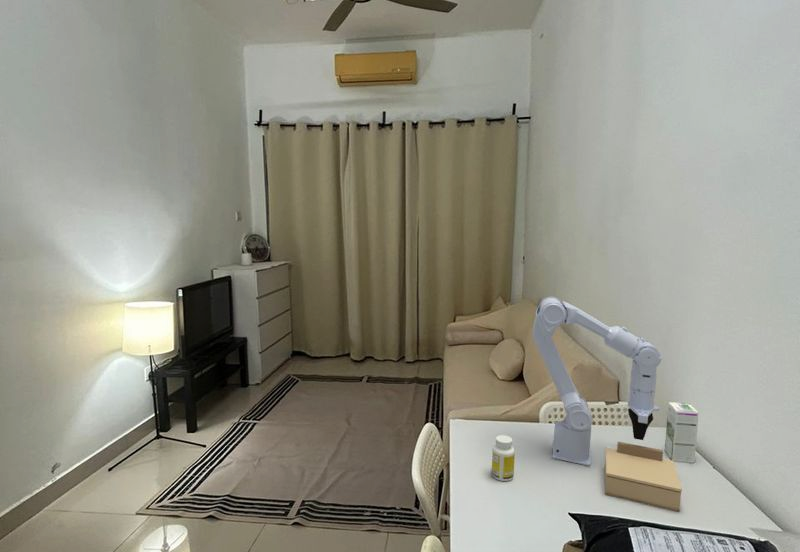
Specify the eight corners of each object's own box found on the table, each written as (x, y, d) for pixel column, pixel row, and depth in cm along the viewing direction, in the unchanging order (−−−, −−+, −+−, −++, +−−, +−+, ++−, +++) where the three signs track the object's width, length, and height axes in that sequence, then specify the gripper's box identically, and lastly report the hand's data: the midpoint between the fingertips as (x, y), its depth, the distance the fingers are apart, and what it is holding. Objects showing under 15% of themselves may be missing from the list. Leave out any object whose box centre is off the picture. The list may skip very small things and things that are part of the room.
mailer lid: (606, 475, 106) (606, 463, 105) (605, 449, 118) (606, 438, 117) (681, 492, 99) (683, 479, 99) (673, 463, 111) (674, 451, 111)
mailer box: (605, 494, 106) (606, 476, 106) (604, 467, 118) (606, 450, 117) (679, 511, 100) (681, 493, 100) (671, 481, 112) (672, 464, 111)
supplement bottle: (515, 473, 115) (517, 436, 114) (511, 484, 110) (513, 446, 109) (494, 467, 117) (495, 432, 116) (489, 478, 112) (490, 441, 111)
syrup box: (695, 463, 120) (700, 411, 119) (670, 461, 122) (675, 409, 120) (686, 453, 126) (691, 403, 124) (663, 450, 127) (667, 401, 125)
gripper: (663, 401, 109) (659, 454, 110) (656, 381, 122) (652, 429, 124) (630, 396, 111) (626, 448, 113) (627, 377, 125) (624, 424, 126)
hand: (638, 438), depth 119 cm, fingers closed
